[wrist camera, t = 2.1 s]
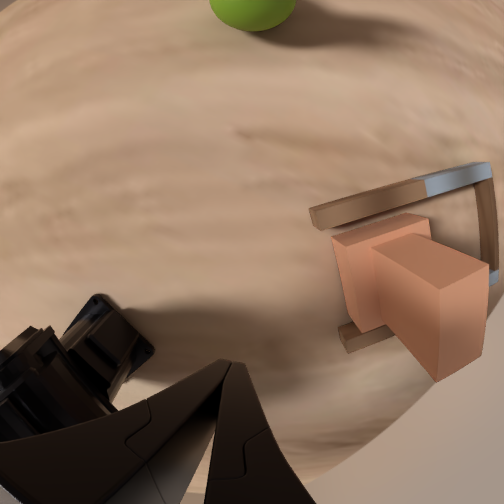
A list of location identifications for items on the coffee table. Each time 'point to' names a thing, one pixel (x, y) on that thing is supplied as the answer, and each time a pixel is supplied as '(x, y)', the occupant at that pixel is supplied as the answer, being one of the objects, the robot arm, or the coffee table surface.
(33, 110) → the coffee table surface
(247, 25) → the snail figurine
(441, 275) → the block
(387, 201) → the beam slot
